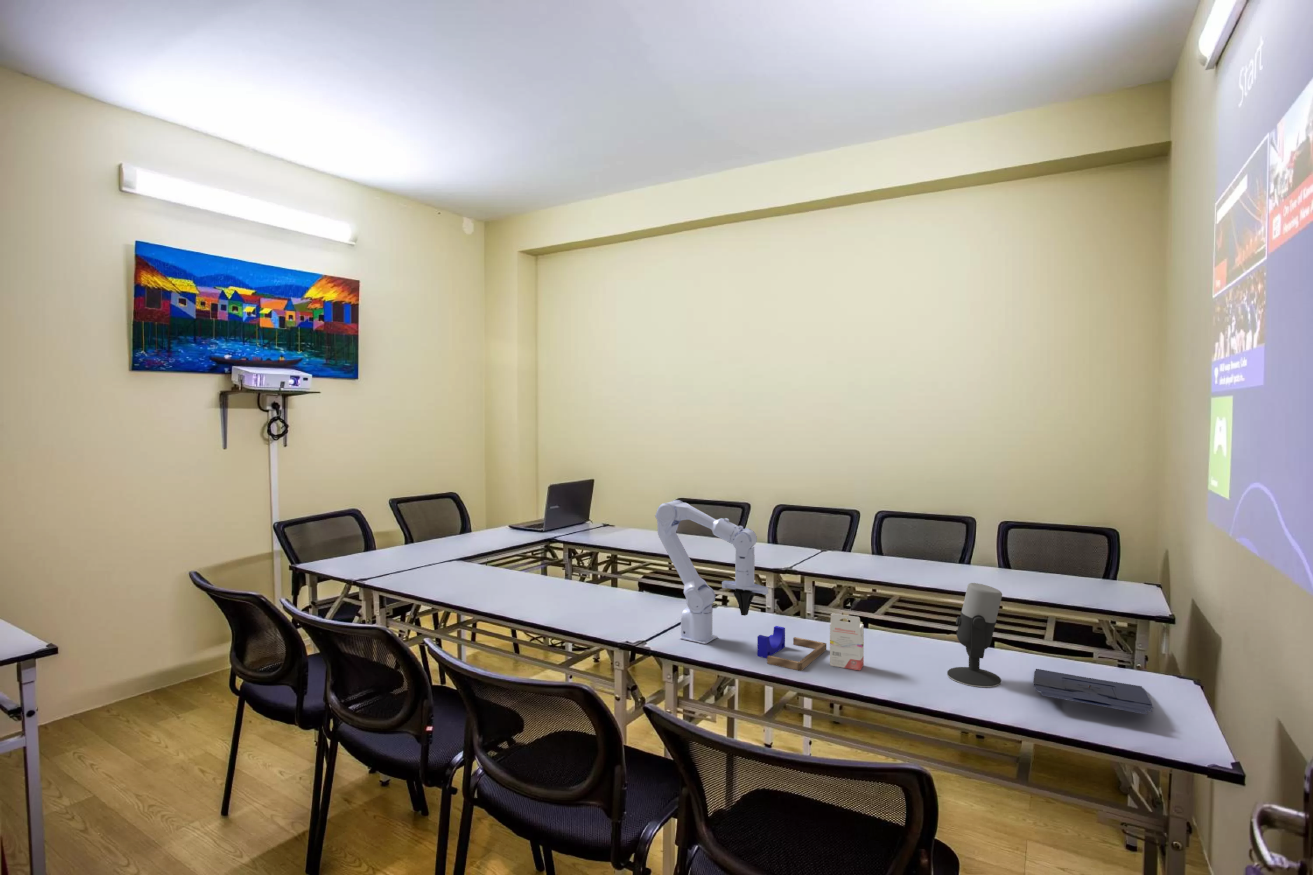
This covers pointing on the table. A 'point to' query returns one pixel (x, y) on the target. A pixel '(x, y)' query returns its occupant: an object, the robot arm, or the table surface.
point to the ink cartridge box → (846, 642)
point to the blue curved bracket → (771, 642)
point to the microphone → (977, 634)
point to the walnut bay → (800, 665)
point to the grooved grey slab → (1092, 691)
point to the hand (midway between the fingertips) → (744, 614)
